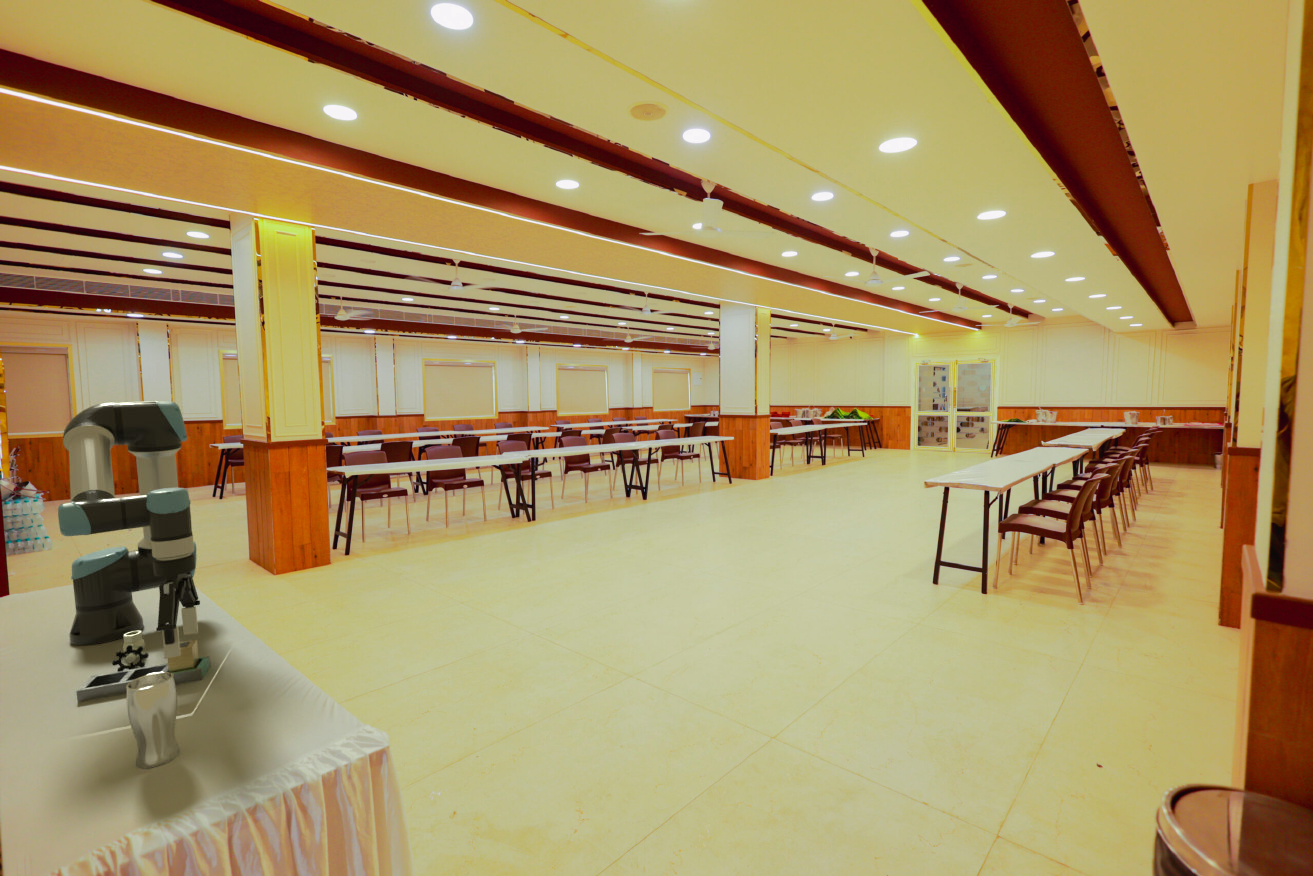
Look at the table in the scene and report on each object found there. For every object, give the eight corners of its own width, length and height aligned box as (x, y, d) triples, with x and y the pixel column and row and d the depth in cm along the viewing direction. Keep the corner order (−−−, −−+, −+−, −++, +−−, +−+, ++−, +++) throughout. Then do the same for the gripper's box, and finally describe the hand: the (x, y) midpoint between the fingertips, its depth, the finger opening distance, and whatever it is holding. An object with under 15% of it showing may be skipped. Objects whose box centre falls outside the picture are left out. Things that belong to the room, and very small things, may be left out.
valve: (118, 659, 151) (113, 677, 141) (115, 634, 150) (110, 650, 141) (152, 651, 155) (149, 668, 145) (150, 627, 154) (147, 642, 145)
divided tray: (93, 688, 136) (91, 675, 135) (210, 668, 145) (209, 655, 144) (77, 704, 129) (76, 690, 129) (202, 681, 138) (200, 669, 138)
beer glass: (152, 748, 113) (144, 672, 111) (191, 745, 113) (184, 670, 112) (122, 772, 106) (114, 691, 104) (164, 769, 106) (156, 688, 105)
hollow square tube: (175, 674, 141) (172, 642, 140) (199, 669, 143) (196, 638, 142) (170, 682, 137) (166, 650, 136) (194, 678, 139) (191, 646, 138)
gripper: (171, 544, 147) (179, 628, 149) (132, 573, 124) (142, 671, 126) (208, 541, 150) (215, 622, 152) (176, 568, 127) (185, 663, 129)
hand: (182, 644), depth 139 cm, fingers open, 13 cm apart
